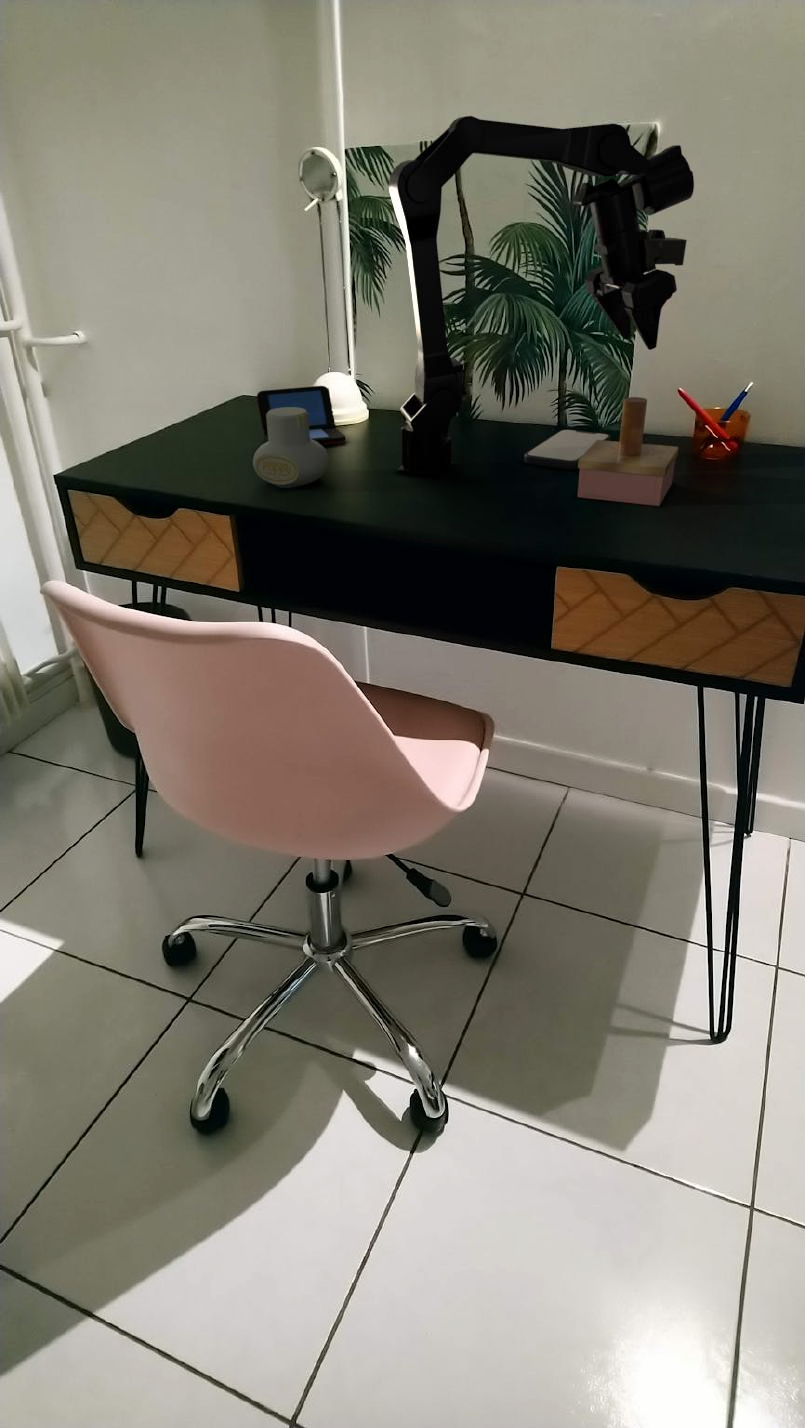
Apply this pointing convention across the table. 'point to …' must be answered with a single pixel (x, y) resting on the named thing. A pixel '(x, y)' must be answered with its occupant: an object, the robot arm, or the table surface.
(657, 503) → the toy box
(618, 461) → the wooden peg stand
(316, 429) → the handheld console
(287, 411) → the air freshener
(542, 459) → the phone case
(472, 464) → the table surface
